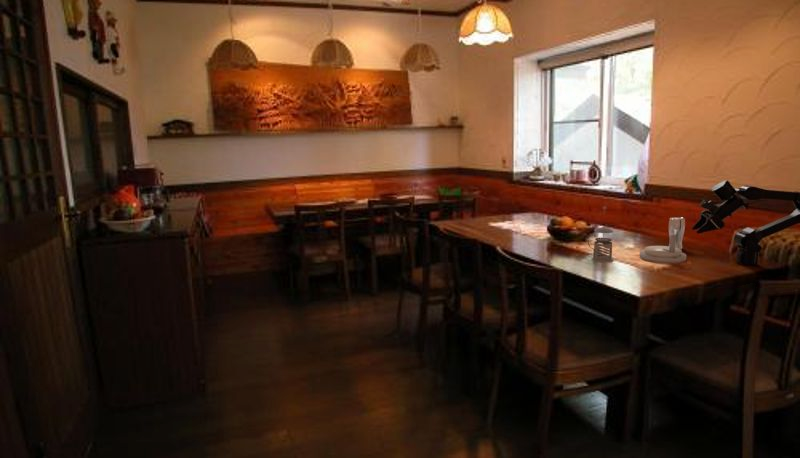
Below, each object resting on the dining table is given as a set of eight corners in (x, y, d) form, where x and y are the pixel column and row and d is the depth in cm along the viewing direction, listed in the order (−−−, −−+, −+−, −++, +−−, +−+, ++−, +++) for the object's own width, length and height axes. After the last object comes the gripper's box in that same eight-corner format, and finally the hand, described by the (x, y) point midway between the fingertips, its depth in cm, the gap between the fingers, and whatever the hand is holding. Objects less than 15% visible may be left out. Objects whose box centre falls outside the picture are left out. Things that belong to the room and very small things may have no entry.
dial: (637, 251, 230) (638, 230, 229) (666, 248, 233) (667, 228, 231) (658, 258, 216) (659, 236, 214) (689, 256, 218) (690, 234, 216)
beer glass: (686, 249, 239) (688, 219, 236) (671, 249, 239) (673, 219, 236) (678, 246, 246) (680, 216, 243) (664, 246, 246) (666, 217, 243)
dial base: (630, 254, 232) (631, 250, 232) (667, 252, 235) (667, 247, 235) (657, 264, 214) (657, 259, 214) (696, 261, 217) (696, 256, 216)
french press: (616, 262, 220) (618, 207, 215) (589, 262, 222) (590, 208, 218) (611, 257, 229) (613, 204, 225) (585, 257, 232) (587, 205, 227)
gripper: (709, 191, 216) (677, 214, 222) (720, 196, 199) (685, 220, 205) (727, 210, 215) (695, 232, 221) (739, 216, 198) (704, 240, 204)
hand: (694, 230), depth 213 cm, fingers open, 9 cm apart
